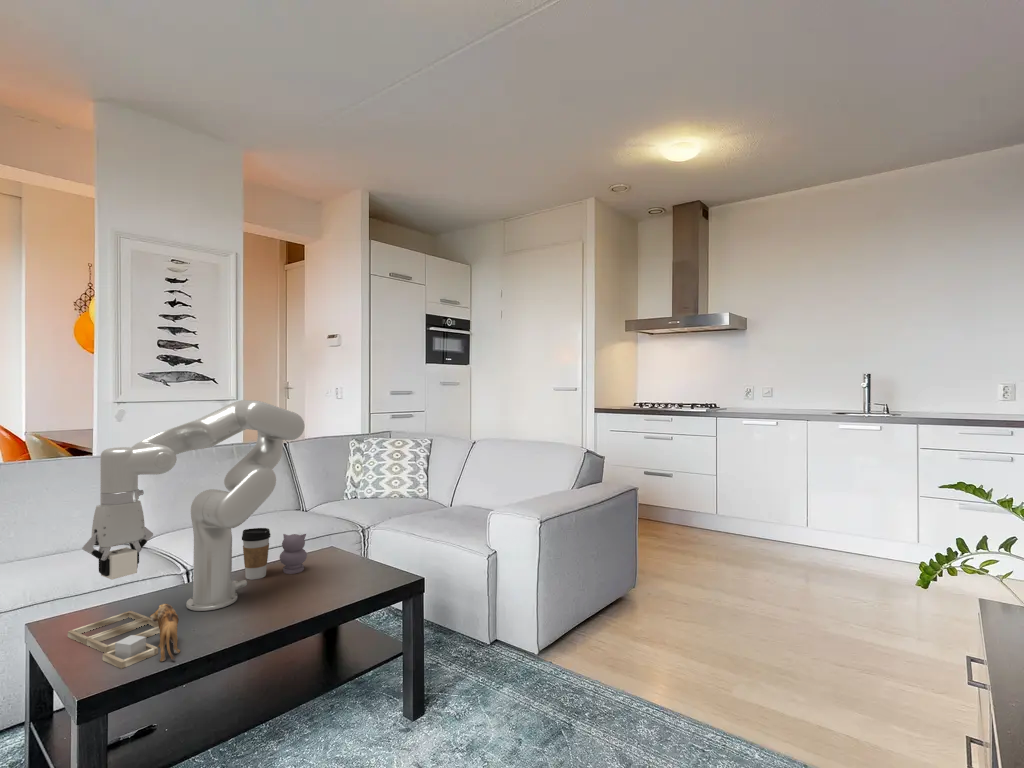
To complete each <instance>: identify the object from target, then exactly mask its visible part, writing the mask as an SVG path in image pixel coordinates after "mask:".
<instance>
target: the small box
mask: <svg viewBox="0 0 1024 768" xmlns="http://www.w3.org/2000/svg"><path fill="white" fill-rule="evenodd" d="M158 654H159V647H158V646H155V645H153V644H150V643H148V642H146V651H144V652H142V653H139V654H137V655H134V656H132V657H129V658H127V659H124V660H123V659H120V658H118V657H116V656H115V650H112V651H109V652H107V653H102V661H103V662H105V663H108V664H109V665H112V666H114V667H116V668H118V669H121V670H123V669H126V668H127V667H129V666H132V665H134V664H137V663H139V662H141V661H144V660H146V658H147V659H149V658H152V657H154V656H156V655H158Z"/></svg>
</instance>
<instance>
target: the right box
mask: <svg viewBox="0 0 1024 768" xmlns="http://www.w3.org/2000/svg"><path fill="white" fill-rule="evenodd" d="M128 617H129V618H128ZM149 617H150V616H147V615H144V614H142V613H139V612H135V611H133V610H128V611H125V612H122V613H119V614H115V615H113V616H110V617H108V618H104V619H101V620H98V621H95V622H92V623H89V624H86V625H83V626H80V627H76V628H74V629H71V630H69V631H67V638H68V639H71V640H73V641H75V640H76V641H75V642H78V643H80V642H81V644H82V643H83V645H85V646H87V645H86V642H87V639H89V638H92V637H95V636H97V635H100V634H103V633H106V632H109V631H112V630H114V629H117V628H120V627H123V626H126V625H129V624H132V623H134V622H137V621H140V620H143V619H146V618H149ZM131 618H132V619H131ZM123 619H124V620H126V619H131V620H132V621H130V622H126V623H124V624H121V625H118V626H115V627H112V628H110V629H107V630H103V631H101V632H97V633H95V634H93V635H90V636H86V635H85V633H88V632H91V631H93V629H94V630H97V629H99V627H100V628H103V627H105V625H106V626H109V625H112V624H115V623H118V622H120V621H123ZM134 619H135V620H134ZM102 626H103V627H102ZM96 628H97V629H96ZM90 630H91V631H90ZM84 632H85V633H84ZM82 633H83V634H82Z"/></svg>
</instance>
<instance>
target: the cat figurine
mask: <svg viewBox="0 0 1024 768" xmlns="http://www.w3.org/2000/svg"><path fill="white" fill-rule="evenodd" d="M306 536H307V533H304V534H303V533H302V534H297V533H293V534H285V533H283V540H282V543H281V547H282V549H283V550H282V551H281V553H280V555H279V561H280V563H281V564H282V565H284V566H283V569H282V570H283V573H284V574H286V575H292V574H298V573H302V572H303V571H304V570H305V565H304V563H305V561H306V560H307V557H308V553H307V552H306V550H305V549H304V547H305V545H306Z"/></svg>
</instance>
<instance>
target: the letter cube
mask: <svg viewBox="0 0 1024 768" xmlns="http://www.w3.org/2000/svg"><path fill="white" fill-rule="evenodd" d="M108 559H109V561H110V574H109V576H103V575H101V574H100V576H102V577H104V578H107V579H109V580H111V581H112V580H115V579H121V578H123V577H128V576H131V575H135V574H137V573H138V568H137V551H136V550H133V549H131V548H130V547H127V546H126V547H122V548H116V549H112V550H110V551H109V554H108Z"/></svg>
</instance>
